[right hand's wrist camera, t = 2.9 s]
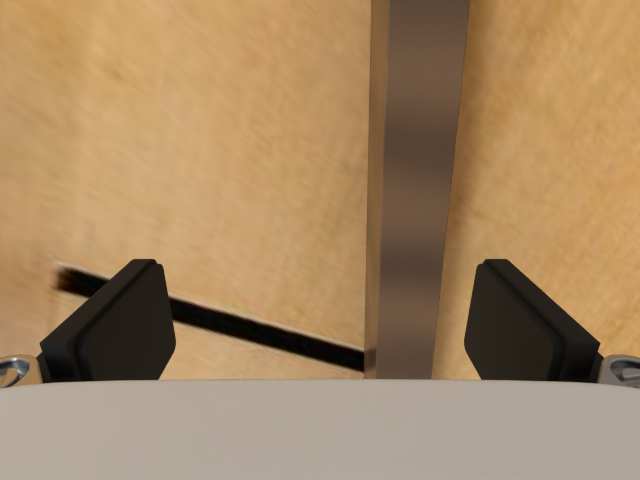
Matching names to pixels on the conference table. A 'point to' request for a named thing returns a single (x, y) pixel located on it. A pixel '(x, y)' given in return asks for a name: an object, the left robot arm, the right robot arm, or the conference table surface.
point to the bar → (409, 177)
